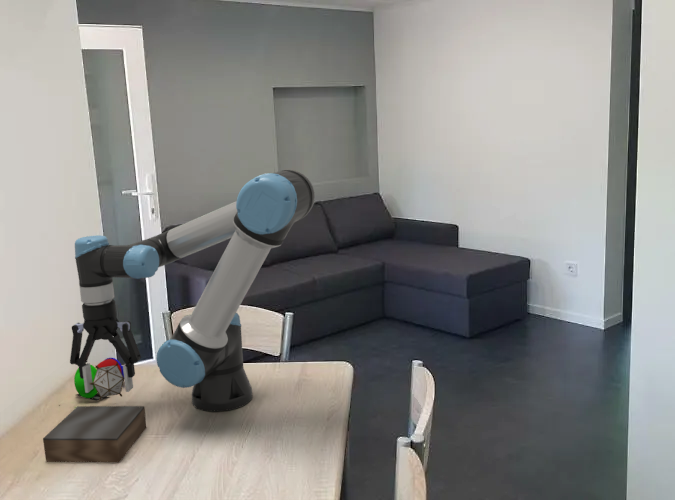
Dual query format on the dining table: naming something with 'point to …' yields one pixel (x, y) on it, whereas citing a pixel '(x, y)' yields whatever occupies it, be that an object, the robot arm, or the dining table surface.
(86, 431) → the dark gray square base
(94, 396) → the toy figure
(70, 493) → the dining table surface
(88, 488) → the dining table surface
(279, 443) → the dining table surface
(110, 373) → the game die
